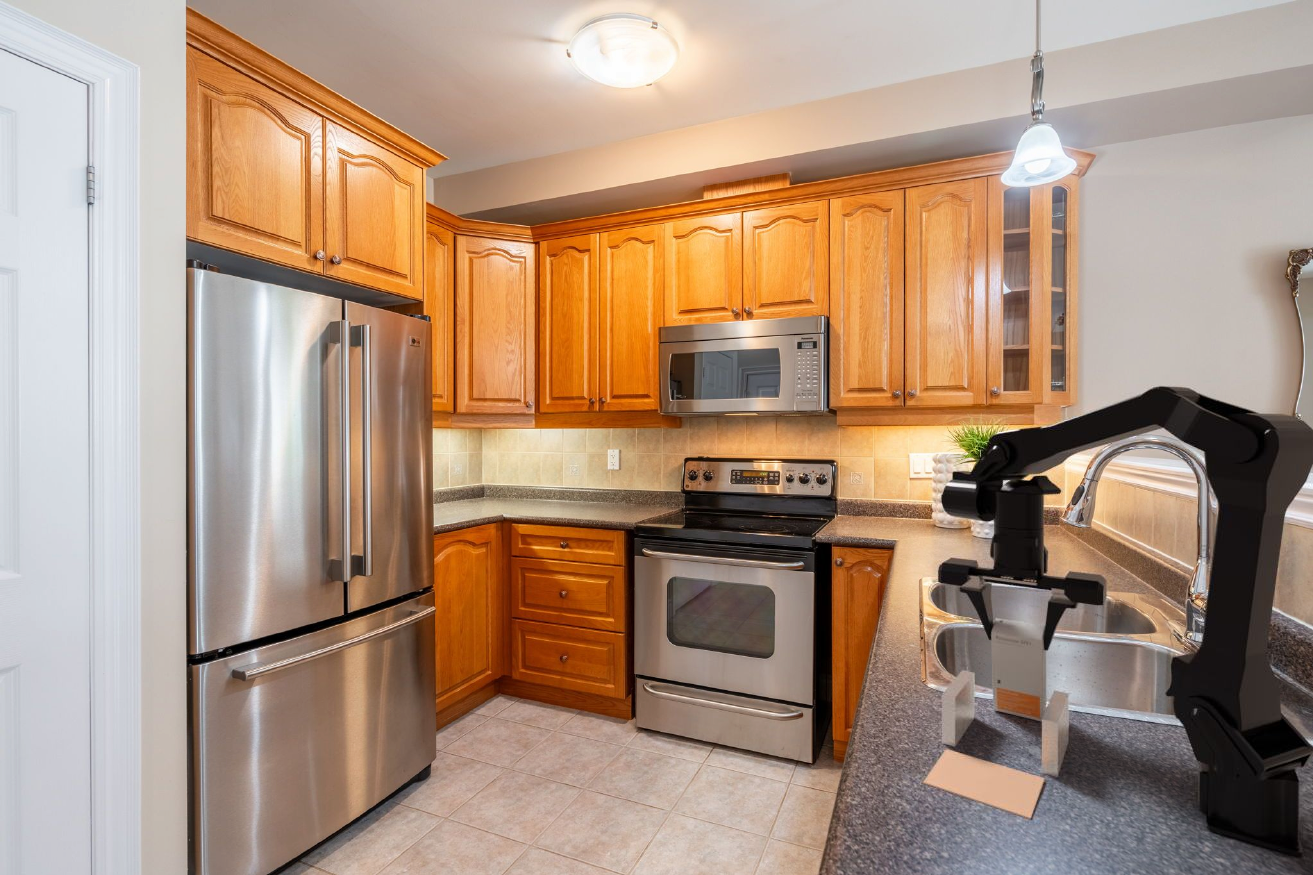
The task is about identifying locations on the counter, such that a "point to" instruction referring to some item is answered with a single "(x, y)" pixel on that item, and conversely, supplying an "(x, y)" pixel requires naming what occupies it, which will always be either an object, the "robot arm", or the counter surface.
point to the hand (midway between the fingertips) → (1018, 644)
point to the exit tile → (986, 783)
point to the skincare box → (1019, 668)
